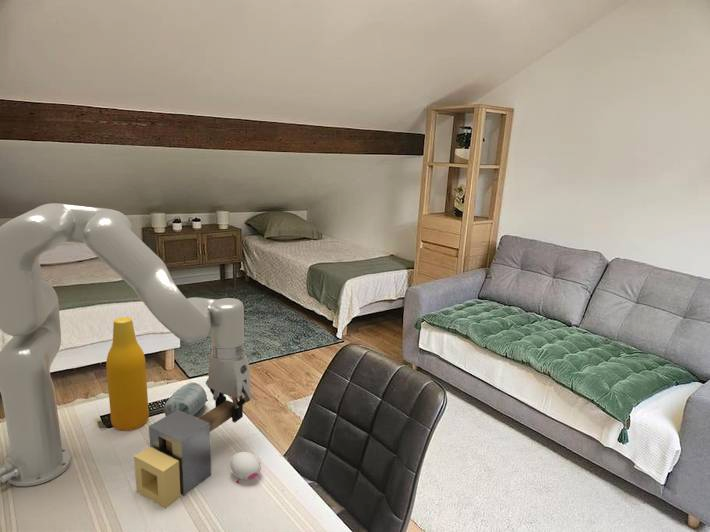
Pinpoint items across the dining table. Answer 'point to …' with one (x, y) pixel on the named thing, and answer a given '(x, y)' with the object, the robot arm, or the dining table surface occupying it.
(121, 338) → the beer bottle
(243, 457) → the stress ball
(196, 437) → the block
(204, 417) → the shaft
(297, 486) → the dining table surface
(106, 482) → the dining table surface
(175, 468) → the block
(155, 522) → the dining table surface
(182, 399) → the spool
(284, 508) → the dining table surface
